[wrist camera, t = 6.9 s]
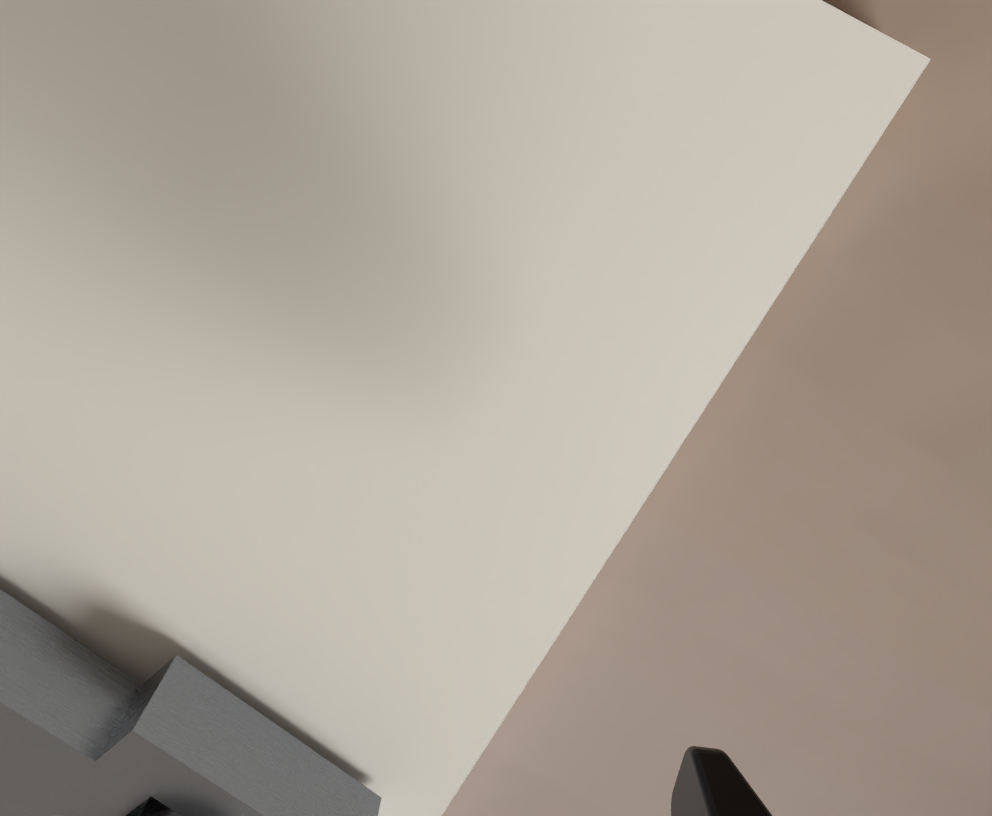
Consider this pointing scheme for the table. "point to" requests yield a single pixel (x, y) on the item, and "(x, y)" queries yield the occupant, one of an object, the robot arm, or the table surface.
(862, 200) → the table surface
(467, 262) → the board
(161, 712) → the link
